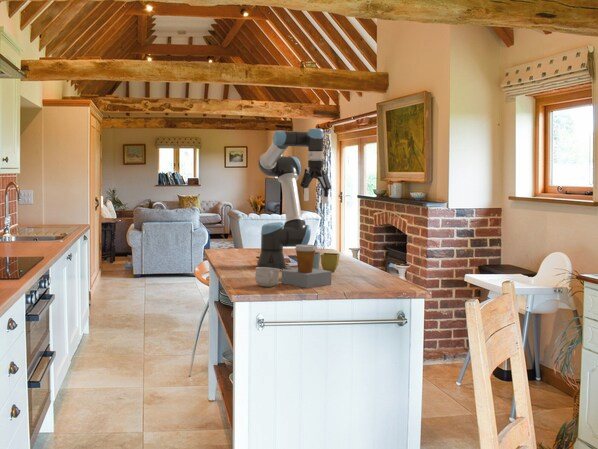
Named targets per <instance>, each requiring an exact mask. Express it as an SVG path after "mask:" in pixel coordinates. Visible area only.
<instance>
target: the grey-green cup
mask: <svg viewBox="0 0 598 449" xmlns="http://www.w3.org/2000/svg"><path fill="white" fill-rule="evenodd" d="M321 254H322V253H321V252H319V251H317V252H316V251H315V256H314V262H313V268H314V269H320V263H321Z"/></svg>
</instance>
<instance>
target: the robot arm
mask: <svg viewBox="0 0 598 449" xmlns="http://www.w3.org/2000/svg"><path fill="white" fill-rule="evenodd" d="M289 147H301V148H302V147H304V148H307V168H304V172H303V176H302V179H301V182H300V184H299V185H300V187H302V188H303V190H302V191H303V201H304V202H308V201H309V200H310V187H309V185H310V184H311V183H312V181H313V179H317V180H318V182H319V184H320V186H321V187H322V194H321V195H322V196H321V197H322V204H328V197H329V190H332V186H331V182H330V179H329V176H328V170H327V169H323V167H324V160H323V159H324V130H323V129H322V128H308V130H307V131H293V130H289V131H288V130H276V131H274V132H273V135H272V143H271V145H270V146H269V147H268V149H267V150H266V152H264V153H262V154H261V155H260V157H259V158H258V161H257V166H258V168H259V170H260V172H261V173H262V174H264V175H265V176H267V177H274V178H275V177H276V178H277V181H278V182H279V183H280V186H281V192H282V198H283V206H284V214H285V222H270V223H269V222H268V223H264V224H263V225H262V226H261V231H260V236H261V237H260V238H261V239H260V241H261V242H260V255H259V256H258V260H257V262H256V263H257V267H270V268H277V269H282V268H286V264H287V262H286V261H285V256H284V250H283V249H284V248H290V247H291V248H293V247H295V248H296V245H302V244H304V245H309V243H310V241H311V240H310V239H311V235H312V233H311V232H312V231H311V226H310V225H308V224H306V220H305V219H304V218H303V216H302V209H301V203H300V198H299V197H300V196H299V191H298V182H297V181H298V180H299V177H301V173H302V170H301V169H302V166H301V162H300V159H299V158H297V157H296V156H290V155H286V156H283V154H284V153H285V151H286V150H287V149H288V148H289Z"/></svg>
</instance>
